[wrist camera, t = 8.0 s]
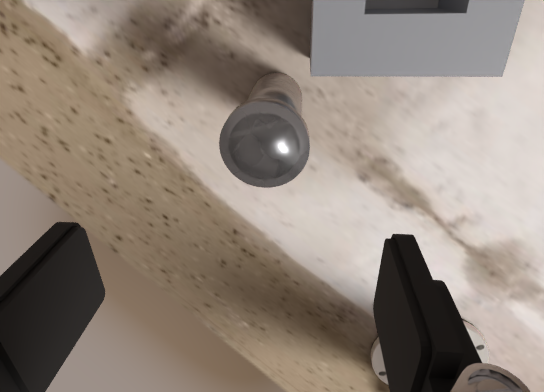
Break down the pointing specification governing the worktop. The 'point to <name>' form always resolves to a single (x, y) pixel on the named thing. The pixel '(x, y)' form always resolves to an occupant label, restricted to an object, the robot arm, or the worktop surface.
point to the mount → (412, 37)
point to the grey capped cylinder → (267, 134)
